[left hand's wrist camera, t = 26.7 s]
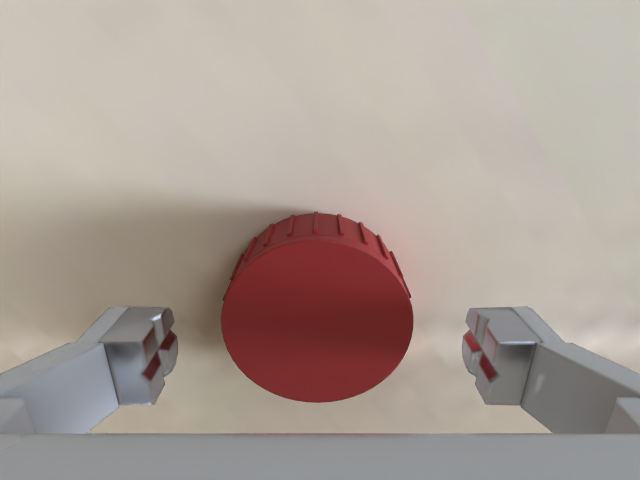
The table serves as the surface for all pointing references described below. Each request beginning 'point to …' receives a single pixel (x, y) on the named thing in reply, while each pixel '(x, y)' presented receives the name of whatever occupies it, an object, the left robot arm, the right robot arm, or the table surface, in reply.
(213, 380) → the table surface
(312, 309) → the lid
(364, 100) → the table surface
